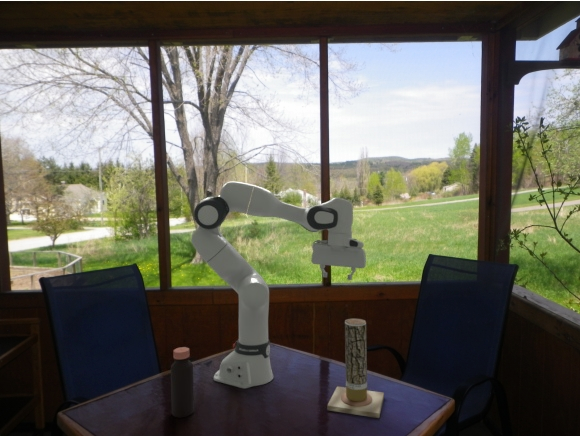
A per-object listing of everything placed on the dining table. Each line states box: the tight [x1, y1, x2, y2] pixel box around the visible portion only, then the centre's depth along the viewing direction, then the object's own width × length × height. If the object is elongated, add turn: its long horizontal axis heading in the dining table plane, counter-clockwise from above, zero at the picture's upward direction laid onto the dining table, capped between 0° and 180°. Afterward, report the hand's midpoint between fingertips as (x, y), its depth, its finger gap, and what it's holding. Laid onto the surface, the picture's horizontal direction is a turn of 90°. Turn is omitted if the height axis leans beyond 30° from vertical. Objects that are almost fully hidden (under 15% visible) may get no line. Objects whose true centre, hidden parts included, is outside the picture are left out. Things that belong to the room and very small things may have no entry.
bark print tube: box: [344, 318, 368, 402], centre depth 129 cm, size 7×7×25 cm
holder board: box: [326, 386, 385, 419], centre depth 129 cm, size 16×14×2 cm
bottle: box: [170, 346, 195, 419], centre depth 125 cm, size 7×7×20 cm
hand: (337, 278), depth 148 cm, fingers open, 8 cm apart
